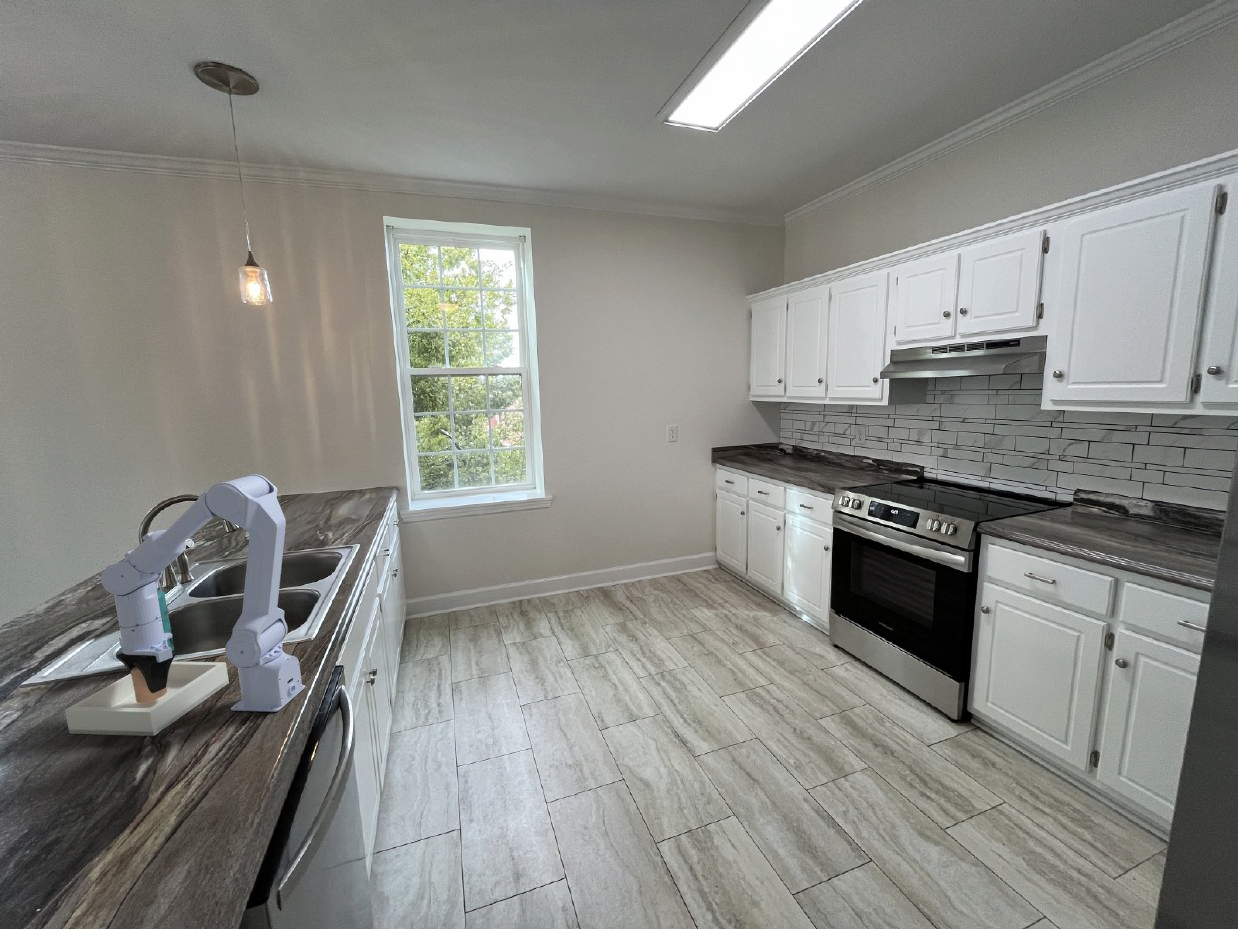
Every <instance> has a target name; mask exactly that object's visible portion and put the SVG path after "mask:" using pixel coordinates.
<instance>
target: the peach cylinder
mask: <svg viewBox="0 0 1238 929" xmlns="http://www.w3.org/2000/svg"><path fill="white" fill-rule="evenodd" d="M130 674H131V675H132V681H133V687H134V692H135V698H136V702H138V703H145V702H149V701H153V700H155V699H158V698H160V697H162V696H163V695H165V694H166V693H167V687H166V688H164V689H162V690H160V691H158V692H155V693H151V692H150V690H149V689H148V686H147V683H146V681H145V678H144V676H143V674H142V673H141V671H140V670H139V669H138V668H137V667H134V668H133V669H132V670H131V673H130Z"/></svg>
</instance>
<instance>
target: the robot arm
mask: <svg viewBox="0 0 1238 929" xmlns="http://www.w3.org/2000/svg"><path fill="white" fill-rule="evenodd" d="M277 495H278V487H277V486H276V485H275V484H273V482H271V481H270V480H269V479H268V478H266V477H265V476H263V475H260V474H256V473H251V474H248V475H244V476H242V477H239V478H235V479H232V480H227V481H222V482H217V483H215V484H213V485H212V486H210V487H209V489H208V490H207V491H204V492H202V493H201V494H200V495H199V496H198V498H197V500H196V501H194V502H193V503H192V504H191V505H190V506H189V507H188V509H186V511H184V512H183V513H182V515H181V516H180V517H178V519H176V521H175V522H174V523H173V524H171V525H170V527H169V528H168V529H159V530H156V531H151V532H149V533H146V534H144V535H143V536H142V540H143V541H142V542H141V543H140V544H139V545H138V546H136V548H134V549H133V550H129V551H127V552H126V553H125V554H124V558H123V560H122V561H120V562H116V563H111V564H109V565H107V566H106V567H105V569H104V570H103V571H102V573H101V576H100V582H101V585H102V587H103V588H104V590H106V591H107V592H108V593H110V594H112V595H113V597H114V604H115V609H116V615H117V621H118V626H119V630H120V631H119V633H120V636H119V637H118V641H119V646H120V647H121V652H122V653H121V652H120V653H119V654H117V655H116V659H118V660H119V661H120V662H121V663H122V664H123V665H124V666H125V667H126V669H127V670H128V672H129V674H131V670H132V669H133V668H134V667H137V668H138V669H139V670H140V671H141V673H142V674H143V676H144V678H145V681H146V683H147V686H148V689H149V690H150V692H151V693H155V692H158V691H160V690H162V689H164V688H166V685H167V679H168V673H169V668H170V665H171V663H172V661H174V659H175V658H176V654H177V653H176V651H175V650H174V651H173V650H171V648H170V647H169V646H168V644H167V639H170V638H172V637H173V633H172V634H171V633H164V631H163V625H162V619H161V613H160V607H159V601H158V595H157V589H158V588H160V586H159V580H160V579H161V577H162V575H163V571H164V569H166V568H167V567H168V566H169V565H170V564H172V563H173V561H175V560H176V559H177V558H178V557H179V556H181V555H182V554H183V553H184V552H185V550H186V548H187V543H186V541H187V540H188V539H189V538H190V537H191V536H193V535H194V534H195V533H197V532H198V531H199V530H201V528H203V527H204V526H205V525H207V524H208V523H209V522H210V521H212V520H213V519H215V518H217V517H220V518H221V519H222V520H223V519H224V520H225V521H228V522H230V523H232V524H233V525H235V526H238V527H239V528H241V529H244V530H245V531H246V532H247V533H248V534H249V536H248V546H247V549H248V550H247V560H246V570H245V580H244V591H243V599H242V600H243V601H242V612H241V614H240V616H239V617H238V619H237V621H236V623H234V626H233V628H232V633H231V637H230V639H228V641H227V643H226V645H225V648H224V654H225V657H226V658H227V660H228V662H230V663H231V664H233V665H234V666H235V668H237V672H238V679H239V686H240V688H239V689H240V692H241V693H240V694H241V700H239V701H238V702H236V703H235V704H234V705H233V706H231V707H230V710H231V711H234V712H235V711H236V712H238V711H240V712H241V711H242V712H279V711H280V710H281V709H282V708H284V707H285V706H286V705H287V704H288V703H289V702H290V701H291V700H293V699H294V698H295V697H296V696H298V694H300V693H301V692H302V691H303V690H304V689H305V688H306V685H305V684H303V683H302V682H303V681H302V674H301V664H300V661H299V659H298V657H297V656H295V655H290V654H288V653H285V652H284V651H283V646H284V645H283V640H284V639H285V638H286V637H287V635H288V629H289V628H288V624H287V622H286V620H285V610H283V609H282V608H279V607H278V604H279V592H280V584H281V577H282V576H281V574H282V564H283V554H284V546H285V538H286V537H285V536H286V528H287V527H286V526H287V523H286V522H287V521H286V517H285V515H284V512H283V510H282V507H281V505H280V502H279V499H278V496H277Z"/></svg>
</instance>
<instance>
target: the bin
mask: <svg viewBox="0 0 1238 929" xmlns="http://www.w3.org/2000/svg"><path fill="white" fill-rule="evenodd" d="M228 673H229V672H228V668H227V663H226V662H223V661H221V662H220V661H218V662H217V661H215V662H214V661H174V660H173V661H172V663H171V665H170V668H169V673H168V679H167V685H166V687H167V693H166V694H165V695H163V696H162V697H160V698H158V699H155V700H153V701H149V702H145V703H138V702H136V698H135V692H134V687H133V681H132V675H131V673H129V674H128V675H125V676H124V677H122V678H120V679H118V680H117V681H115V682H113V683H111V684H109V685H107V686H106V687H104V688H102V689H100V690H98V691H96V692H95V693H92V694H91V695H88V697H86V698H84V699H82V700H80V701H79V702H77V703H75V704H73V705H71V706H69V707H67V708H65V709H64V713H65V718H66V722H67V728H68V733H69V734H72V735H73V734H77V735H107V736H108V735H109V736H111V735H112V736H115V735H116V736H142V737H143V736H144V737H145V736H147V737H154V736H156V735H157V734H159V733H160V732H161V731H164V729H166V728H167V727H169V726H170V725H172V724H173V723H174V722H176V721H177V720H179V719H181V717H183V716H184V715H186V714H187V713H188V712H190V711H192V710H193V709H194V708H195V707H197V706H199V705H200V704H201V703H202V702H205V700H208V699H209V698H210V697H212V696H213V695H214V694H215V693H217V692H219V690H221V689H223V688H224V687H225V686H227V685H228V684H230V682H229V675H228Z"/></svg>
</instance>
